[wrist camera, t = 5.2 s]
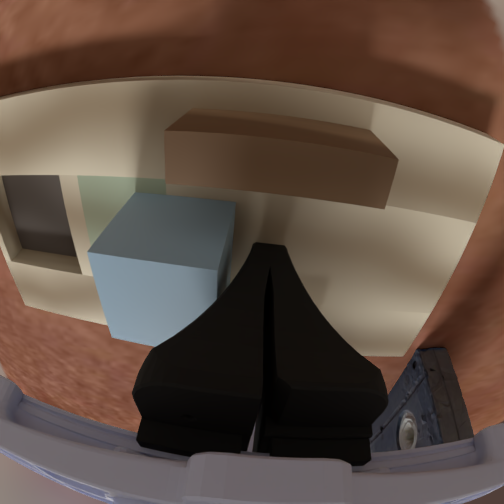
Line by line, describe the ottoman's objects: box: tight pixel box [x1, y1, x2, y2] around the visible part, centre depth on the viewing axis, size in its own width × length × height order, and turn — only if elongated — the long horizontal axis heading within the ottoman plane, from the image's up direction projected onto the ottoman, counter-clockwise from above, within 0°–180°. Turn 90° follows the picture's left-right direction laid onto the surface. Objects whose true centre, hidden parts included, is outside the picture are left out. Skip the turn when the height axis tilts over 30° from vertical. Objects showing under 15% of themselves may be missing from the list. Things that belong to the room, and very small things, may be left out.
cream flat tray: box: [0, 76, 504, 356], centre depth 13 cm, size 13×24×4 cm, turn 85°
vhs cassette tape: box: [369, 348, 474, 453], centre depth 20 cm, size 18×3×10 cm, turn 178°
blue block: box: [87, 192, 236, 347], centre depth 11 cm, size 4×4×4 cm
